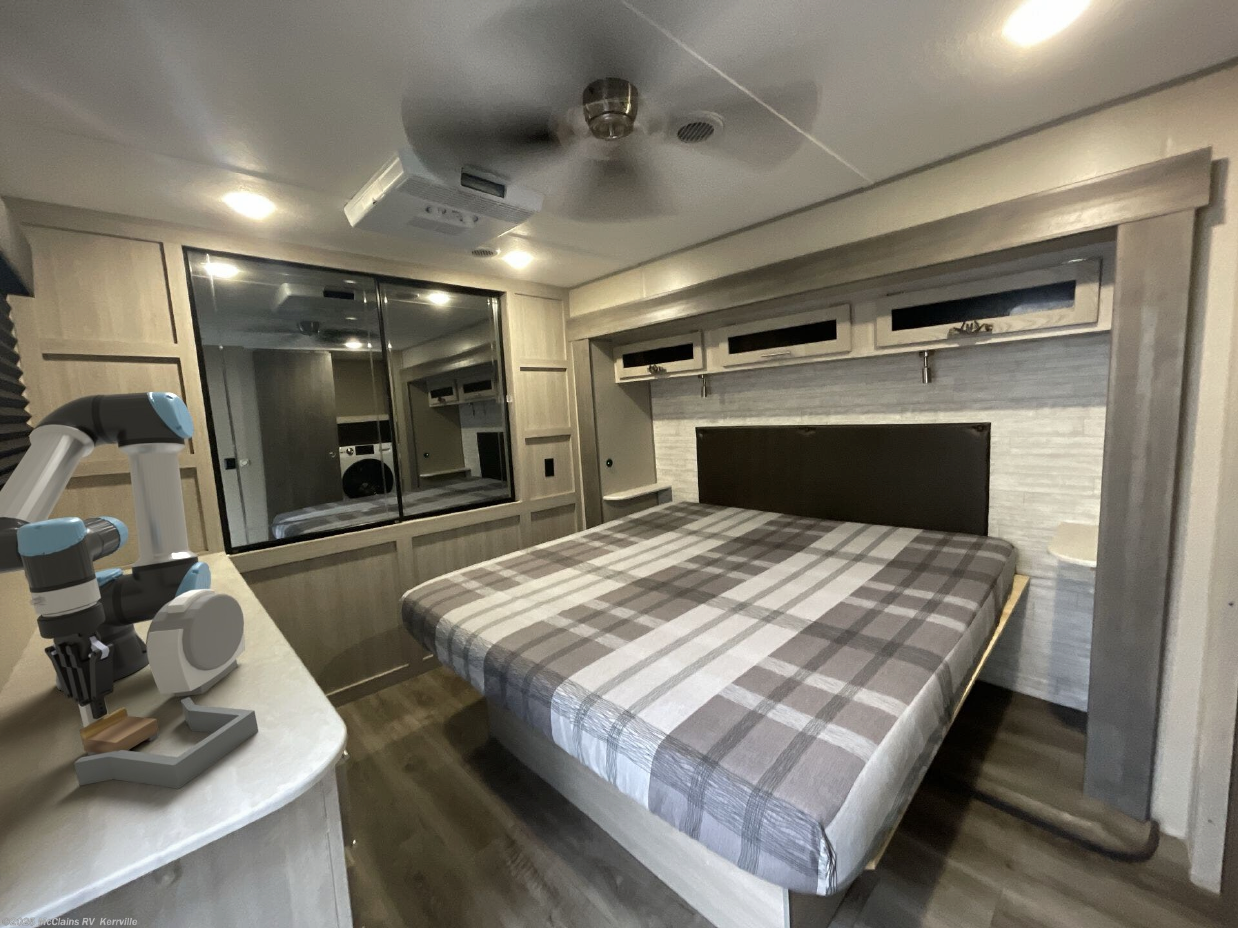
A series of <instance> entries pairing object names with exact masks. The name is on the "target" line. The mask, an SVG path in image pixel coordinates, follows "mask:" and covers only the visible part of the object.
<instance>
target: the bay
mask: <svg viewBox="0 0 1238 928" xmlns="http://www.w3.org/2000/svg"><path fill="white" fill-rule="evenodd" d="M180 703H181V708H182V713H183V718H184V721H185V722H186V724H187V725H188V726H189V729H190V730H191V731H196V732H206V733H211V734H210V735H208V736H206V738H204V739H202V740H200V741H199V742H197V743H195V745H193V746H192V747H190V748H189V749H187V750H186V751H184V752H183V753H181V754H180V755H179V756H171V755H164V754H163V755H162V754H156V753H147V752H141V751H131V750H128V751H125V750H119V751H113V752H108V753H103V754H97V755H92V756H91V755H87V756H83V757H79V758H78V759H77V760H76V761H75V762H73V765H74V768H75V772H76V777H77V780H78V784H79V786H85V785H90V784H91V785H92V784H95V783H100V782H106V781H111V780H116V781H117V780H118V781H124V782H131V783H138V784H145V785H150V786H151V785H153V786H160V787H164V788H165V787H166V788H173V789H181V788H182V787H183V786H185V785H186V784H187V783H189V782H190V781H192V780H193V779H194V778H196V777H197V776H198V775H200V774H202V773H203V772H204V771H206V770H207V769H209V767H211V766H213V765H214V764H215V763H216V762H218V761H219V760H221V758H223V757H224V756H227V755H228V754H229V753H230V752H232V751H233V750H234V749H235V748H238V746H240V745H241V744H243V743H244V742H245V741H246V740H248V739H249V738H251V737H252V736H253V735H255V734H256V733H257V732H259V727H258V722H257V717H256V712H255V710H253V709H243V708H233V707H232V708H231V707H221V706H212V705H201V704H195V702H193V700H192V698H191V697H190V696H188V697H185V698H183V699H181V700H180Z"/></svg>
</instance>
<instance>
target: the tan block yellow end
mask: <svg viewBox="0 0 1238 928" xmlns="http://www.w3.org/2000/svg"><path fill="white" fill-rule="evenodd" d="M159 732H160V727H159V724H158V719H157V718H147V717H140V716H139V717H138V716H132V715H131V716H129V715H128V712H127V708H126V707H121V708H118V709H117V710H114V711H113V712H111V713H108V715H107V716H105V717H103V718H101V719H99V720H98V721H96V722H94V723H92V724H90V725H88V726H86V727H84V726H83V728H80V729H79V734H80V738H81V742H82V746H83V751H84V752H87V756H92V755H97V754H103V753H108V752H113V751H119V750H125V751H130V749H132V748H134V747H136V746H137V745H139V744H141V743H142V742H144V741H146V742H151V741H153V740H155V739H156V738H158V737H159V734H158V733H159Z"/></svg>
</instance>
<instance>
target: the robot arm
mask: <svg viewBox="0 0 1238 928" xmlns="http://www.w3.org/2000/svg"><path fill="white" fill-rule="evenodd" d="M194 431H195V427H194V423H193V418H192V415H191V413H190V411H189V409H188V407H187V405H186V404H185V403H184V401H183V399H181V398H180V397H179V395H177V394H175V393H172V392H167V391H166V392H163V391H162V392H158V391H157V392H154V391H148V392H133V393H131V392H130V393H115V394H114V393H113V394H91V395H86V396H82V397H79V398H76V399H72V400H71V401H68V402H66V403H64V404H62V405H61V406H59V407H57V408H55V409H54V410H53V411H51V412H50V413H48V414H47V415H46V416H44V417H43V418H42V419H41V420H40V421H39V422H38V423H37V424H36V426H35V427H34V429H33V430H32V431H31V433H30V435H29V442H30V446H29V448H28V449H27V451H26V452H25V454H24V455H23V457H22V458H21V460H20V462H19V463H18V464H17V466H16V467H15V469H14V470H13V472H12V473H11V474H10V476H9V478H8V479H7V481H5V484H4V485H3V487H2V488H1V490H0V575H1V574H6V573H7V574H8V573H11V572H12V573H14V572H20V571H24V573H25V576H26V579H27V580H26V581H27V582H28V583H27V584H28V588H29V589H28V590H29V592H30V597H31V599H30V600H29V604H30V605H32V606H33V609H34V612H35V614H36V615H39V616H38V617H37V619H36V622H37V627H38V632H39V636H40V637H41V638H43V639H46V640H52V641H53V645H49V646H47V647H45V648H44V653H45V654H46V656H47V658H49V660H50V662H51V664H52V666H53V669H54V670H55V673H56V674H55V675H56V676H55V684H56V688H57V690H58V691H60V690H61V691H60V692H64V695H65V697H66V698H67V699H68V700H70V699H73V701H74V702H75V703H76V704H77V705H78V708H79V713H80V716H81V720H82V721H81V722H82V726H83V728H84V727H86V726H88V725H90V724H92V723H94V722H96V721H98V720H99V719H101V718H103V717H105V716H107V715H109V710H108V708H107V703H106V698H105V697H107V696H109V695H111V694H113V693H114V692H115V691H114V688H115V687H114V681H115V682H116V681H117V680H121V679H122V678H125V677H127V676H129V675H132V674H134V673H135V672H137V671H139V670H141V669H142V668H144V667H146V666H147V665H148V664H149V660H148V655H147V651H146V642H145V641H144V640H143V639H142V638H141V636H140V635H139V634H138V632H137V631H136V628H135V624H139V623H143V622H144V623H146V622H150V621H152V620H153V619H154V617H155V615H156V614H157V613H158V611H159V610H160V609H161V608H162V607H163V606H164V605H166V604H167V603H169V602H170V601H172V600H173V599H175V598H176V597H178V596H180V595H181V594H183V593H185V592H188V591H190V590H200V589H211V584H212V575H211V574H212V572H211V570H210V566H209V564H208V563H207V562H205V561H204V562H203V561H199V555H198V554H196V553H194V552H193V551H191V550H190V548H189V541H188V531H187V530H188V529H187V524H186V523H187V522H186V515H185V505H184V498H183V491H182V490H183V488H182V480H181V479H182V478H181V472H180V471H181V470H180V463H179V453H180V452H181V451H182V450H183V449H185V448H186V444H185V443H186V442H185V440H188V439H191V438H192V437H193V436H194ZM105 445H117V448H118V450H119V451H120V452H122V453H123V454H125V455H126V456H127V457H128V463H129V471H130V480H131V481H130V482H131V489H132V490H131V491H132V498H133V499H132V500H133V508H134V515H135V525H136V526H135V527H136V534H137V535H136V536H137V544H138V551H139V552H138V553H139V557H138V559H137V560H136V561H135V562H133V564H131V573H127V574H124V571H123V570H122V569H121V568H120V567H119V568H110V569H104V570H101V571H97V572H96V571H95V565H94V562H96V561H99V560H100V559H104V557H109V556H110V555H113V554H114V553H116V552H117V551H118V550H120V549H121V548H122V547H124V545H125V544H126V543H127V542H128V540H129V529H128V527H127V525H126V524H125V522H123V521H122V520H120V519H118V518H116V517H113V516H112V517H111V516H96V517H89V518H86V519H84V520H82V519H81V518H80V517H77V516H67V517H58V518H52V519H48V518H49V517H50V515H51V514H52V512H53V510H54V508H55V506H56V504H57V503H58V501H59V499H60V497H61V496H62V494H63V492H64V490H65V488H66V486H67V485H68V483H69V482H70V479H71V478H72V476H73V475H74V473H75V471H76V469H77V468H78V465H79V463H80V462H81V460H82V458H86V457H88V456H89V455H91V454H92V453H93V451H94V449H95V448H97V447H99V446H105Z"/></svg>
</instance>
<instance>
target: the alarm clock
mask: <svg viewBox="0 0 1238 928" xmlns="http://www.w3.org/2000/svg"><path fill="white" fill-rule="evenodd" d="M244 619H245V618H244V612H243V609H242V607H241V604H240V603H239V601H238V600H237V599H236V598H235V597H234V596H233V595H229V594H226V593H215V590H214V588H210V589H200V590H190V591H188V592H185V593H183V594H181V595H180V596H178V597H176V598H175V599H173V600H172V601H170V602H169V603H167V604H166V605H164V606H163V607H162V608H161V609H160V610H159V611H158V613H157V614H156V615H155V617H154V619H153V620H151V622H150V623H149V627H148V630H147V634H146V641H145V644H146V651H147V655H148V660H149V663H148V664H149V667H150V670H151V674H152V676H153V680H154V682H155V685H156V687H157V689H158V691H159V694H160V695H167V694H168V695H169V694H174V695H175V698H178V697H187V696H188V697H189V696H196V695H203V694H204V693H206V692H207V691H209V689H211V688H212V687H214V686H215V684H217V683H218V682H219V681H221V680H222V679H224V678H225V677H226V676H228V674H230V673H231V672H232V671H234V670H235V669H236V668H237V667H238V661H237V659H238V658H239V657H240V656H241V655H242V654H243V653H244V652H245V651H246V639H245V629H244V628H245V620H244Z"/></svg>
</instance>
